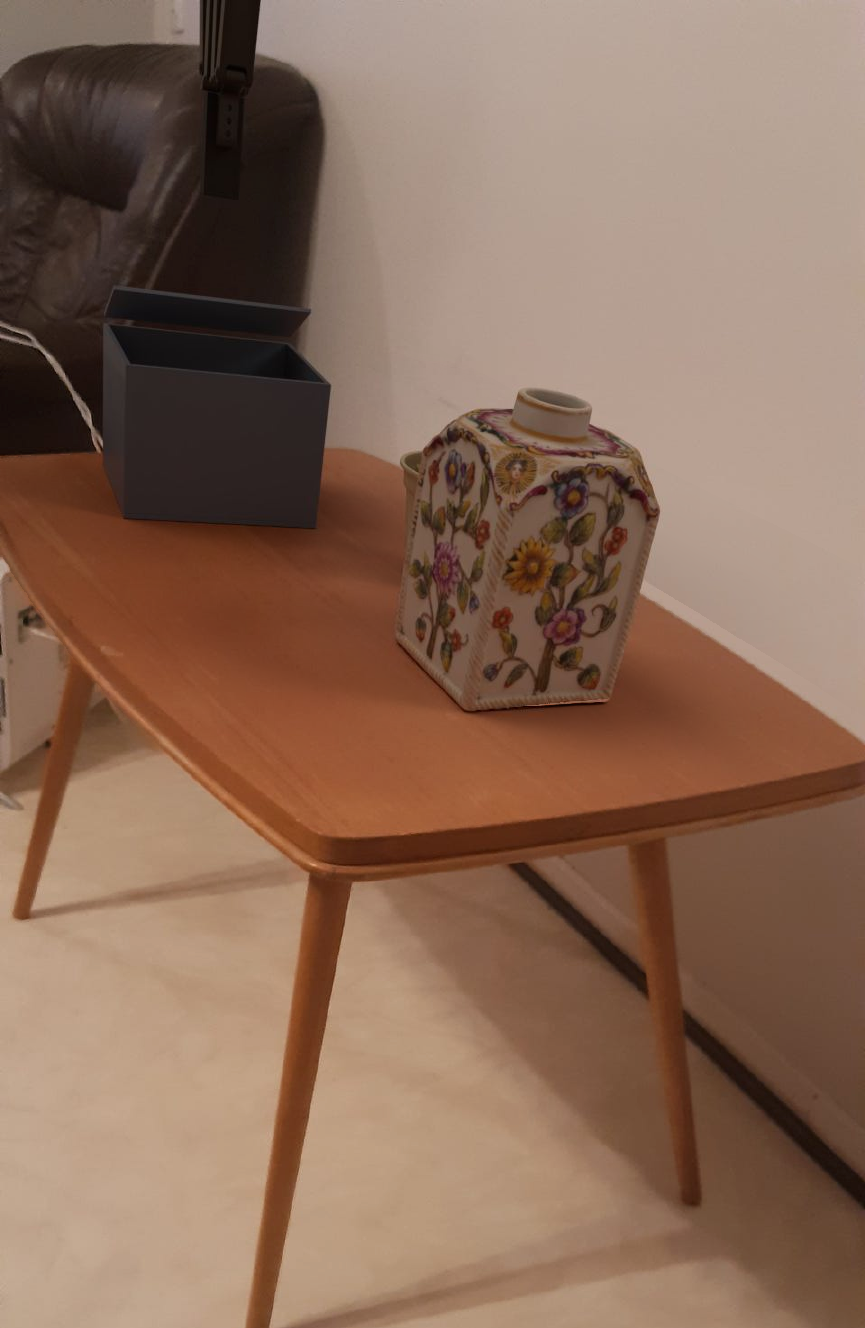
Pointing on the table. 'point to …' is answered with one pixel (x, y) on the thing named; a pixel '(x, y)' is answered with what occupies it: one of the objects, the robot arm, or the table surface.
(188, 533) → the table surface
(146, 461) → the carton
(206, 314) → the flap
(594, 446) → the decorative jar
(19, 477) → the table surface
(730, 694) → the table surface
